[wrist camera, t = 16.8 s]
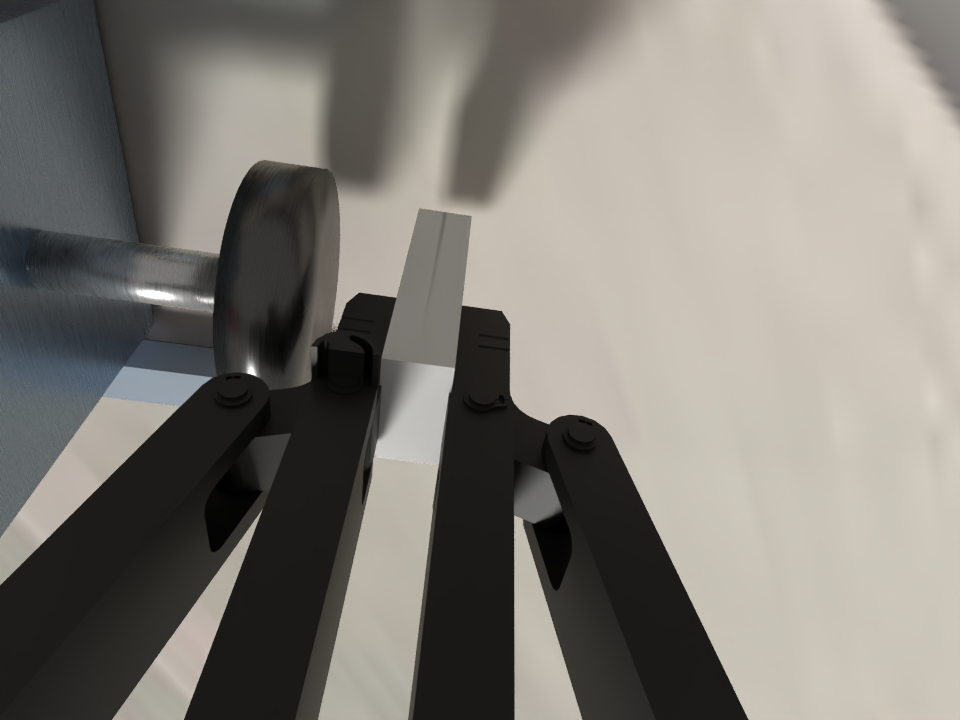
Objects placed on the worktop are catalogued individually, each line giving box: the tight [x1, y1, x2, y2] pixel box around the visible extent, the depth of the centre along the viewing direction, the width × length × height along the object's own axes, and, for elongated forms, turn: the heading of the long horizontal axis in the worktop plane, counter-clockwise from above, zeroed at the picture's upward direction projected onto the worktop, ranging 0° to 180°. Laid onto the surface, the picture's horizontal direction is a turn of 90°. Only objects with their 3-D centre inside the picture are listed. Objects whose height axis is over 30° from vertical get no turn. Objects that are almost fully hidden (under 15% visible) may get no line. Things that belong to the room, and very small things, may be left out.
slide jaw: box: [0, 0, 340, 537], centre depth 16 cm, size 9×10×9 cm
